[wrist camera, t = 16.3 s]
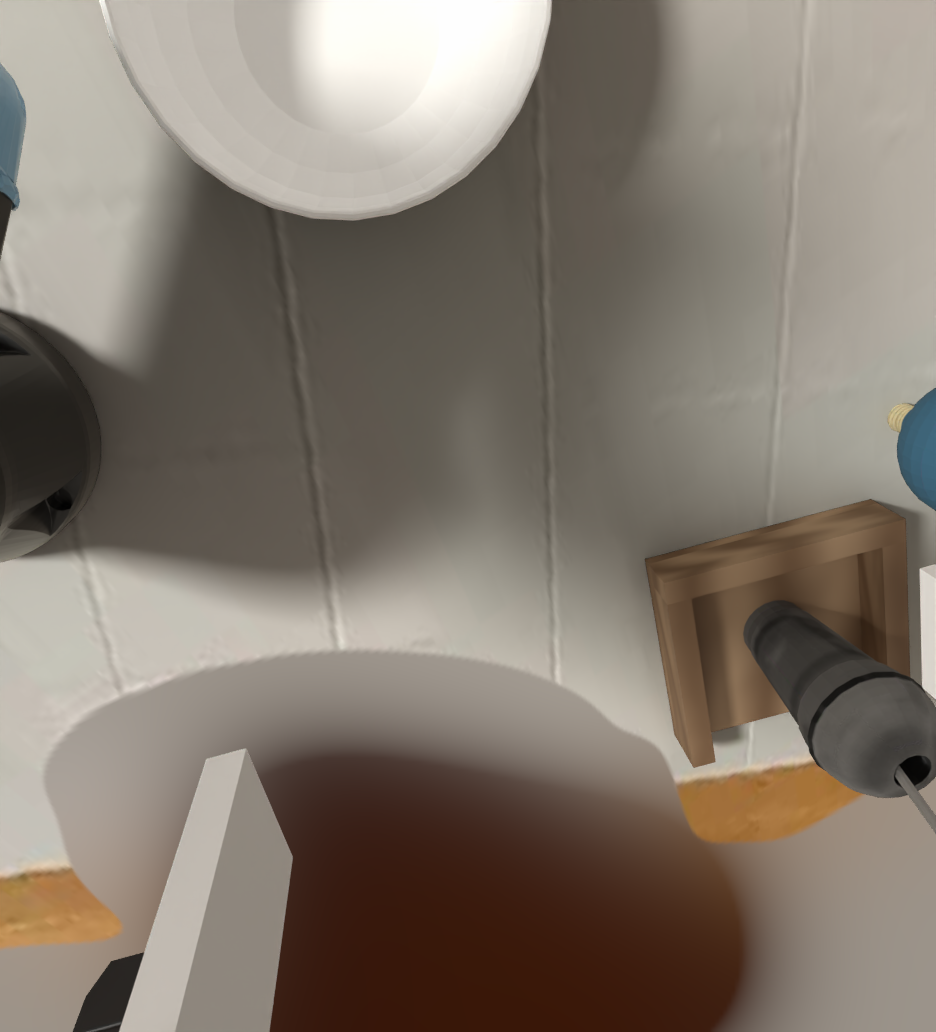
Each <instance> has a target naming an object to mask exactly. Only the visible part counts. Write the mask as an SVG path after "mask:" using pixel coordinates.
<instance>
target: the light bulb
mask: <svg viewBox="0 0 936 1032" xmlns="http://www.w3.org/2000/svg"><path fill="white" fill-rule="evenodd" d="M888 423H889V426H890V427H891V429H892V430H894V431H897V432H899V437H898V443H897V458H898V462H899V466H900V470H901V474H902V476H903V478H904V480H905V482H906V484H907V485H908V486H909V488H910V489H911V491H912V492H913V493H914V494H915V495H916V496H917V497H918V499H920V500H921V501H922V502H924V503H925V504H927V505H928V506H930V507H931V508H933V509H934V510H935V511H936V388H934V389H933V390H931V391H930V392H929V393H927V394H926V395H925V396H924V397H923V398H921V399H920V400H919V401H918V402H917V403H916V405H915V406H913V405H910V404H905V403H903V404H899V405H897V406H895V407H894V408H893V409H892V410H891V412H890V414H889V416H888Z"/></svg>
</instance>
